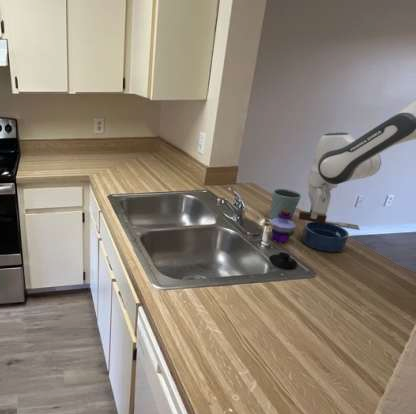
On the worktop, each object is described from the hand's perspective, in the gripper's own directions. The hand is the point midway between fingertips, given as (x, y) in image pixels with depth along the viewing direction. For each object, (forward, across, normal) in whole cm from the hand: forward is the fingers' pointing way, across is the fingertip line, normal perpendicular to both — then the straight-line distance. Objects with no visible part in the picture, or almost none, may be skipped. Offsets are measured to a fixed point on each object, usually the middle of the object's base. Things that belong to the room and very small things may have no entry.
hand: (312, 216), depth 119 cm
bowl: (+10, 0, -5) cm, 11 cm away
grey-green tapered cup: (+10, +17, +8) cm, 21 cm away
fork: (+2, 0, -4) cm, 4 cm away
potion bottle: (+10, -3, +9) cm, 14 cm away
